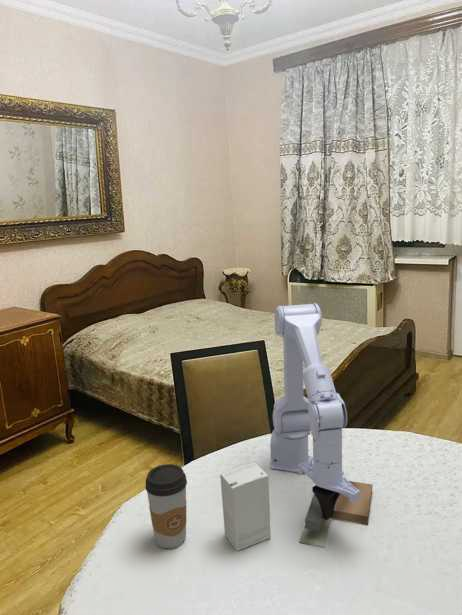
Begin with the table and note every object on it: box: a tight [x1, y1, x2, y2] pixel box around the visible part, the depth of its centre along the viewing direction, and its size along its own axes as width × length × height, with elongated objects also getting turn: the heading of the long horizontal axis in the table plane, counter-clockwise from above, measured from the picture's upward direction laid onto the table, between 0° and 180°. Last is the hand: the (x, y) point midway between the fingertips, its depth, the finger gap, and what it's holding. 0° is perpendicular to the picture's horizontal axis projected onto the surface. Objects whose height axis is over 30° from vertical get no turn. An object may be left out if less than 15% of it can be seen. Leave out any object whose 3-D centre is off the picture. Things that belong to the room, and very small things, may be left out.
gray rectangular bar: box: [304, 493, 323, 531], centre depth 104 cm, size 12×3×2 cm, turn 159°
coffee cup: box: [144, 463, 188, 549], centre depth 100 cm, size 8×8×15 cm
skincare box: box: [219, 461, 272, 551], centre depth 99 cm, size 8×6×15 cm
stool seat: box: [298, 480, 373, 549], centre depth 106 cm, size 12×22×2 cm, turn 160°
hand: (327, 517), depth 101 cm, fingers closed, pressing on gray rectangular bar
